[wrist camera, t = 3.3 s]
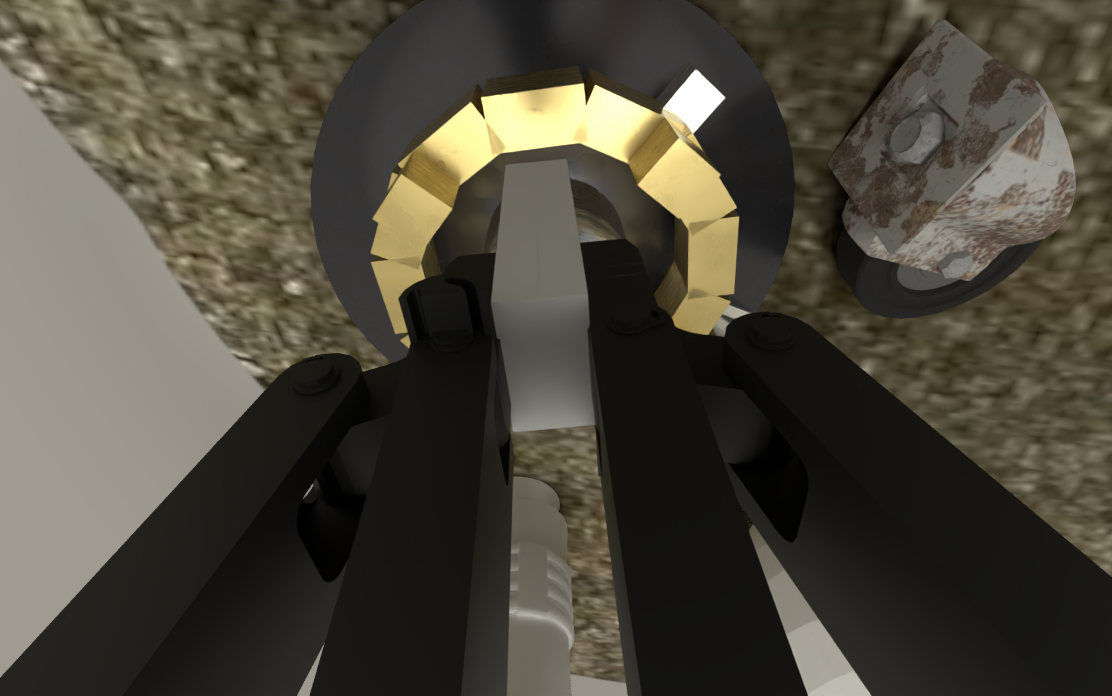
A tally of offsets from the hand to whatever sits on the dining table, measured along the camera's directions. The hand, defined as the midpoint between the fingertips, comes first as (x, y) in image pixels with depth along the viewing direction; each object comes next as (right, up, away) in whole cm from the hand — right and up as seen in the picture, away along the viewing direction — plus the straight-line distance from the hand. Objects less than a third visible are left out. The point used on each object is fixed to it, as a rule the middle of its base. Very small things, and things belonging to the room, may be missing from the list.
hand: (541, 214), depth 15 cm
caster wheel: (+18, +4, +13) cm, 23 cm away
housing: (0, +2, +14) cm, 14 cm away
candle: (-2, -14, +26) cm, 30 cm away
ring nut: (0, +1, +12) cm, 12 cm away
